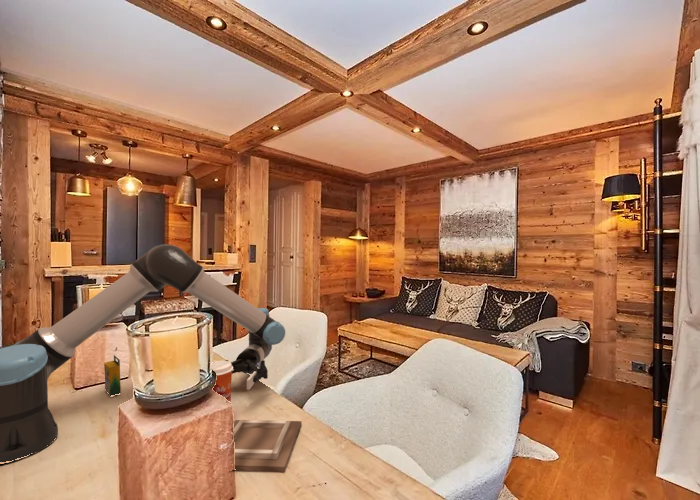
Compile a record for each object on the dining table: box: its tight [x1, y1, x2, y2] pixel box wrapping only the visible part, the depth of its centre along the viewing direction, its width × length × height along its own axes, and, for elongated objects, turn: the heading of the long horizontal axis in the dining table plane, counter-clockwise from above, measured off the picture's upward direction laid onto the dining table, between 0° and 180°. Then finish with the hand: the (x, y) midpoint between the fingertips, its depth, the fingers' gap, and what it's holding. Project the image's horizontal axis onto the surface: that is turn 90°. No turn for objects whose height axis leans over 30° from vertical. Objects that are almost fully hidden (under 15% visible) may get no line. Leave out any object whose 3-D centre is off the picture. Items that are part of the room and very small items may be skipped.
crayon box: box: [103, 354, 122, 397], centre depth 109 cm, size 7×3×12 cm, turn 48°
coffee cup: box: [211, 360, 233, 402], centre depth 93 cm, size 8×8×15 cm
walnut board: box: [233, 419, 302, 473], centre depth 80 cm, size 18×18×2 cm
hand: (224, 384), depth 95 cm, fingers open, 13 cm apart
